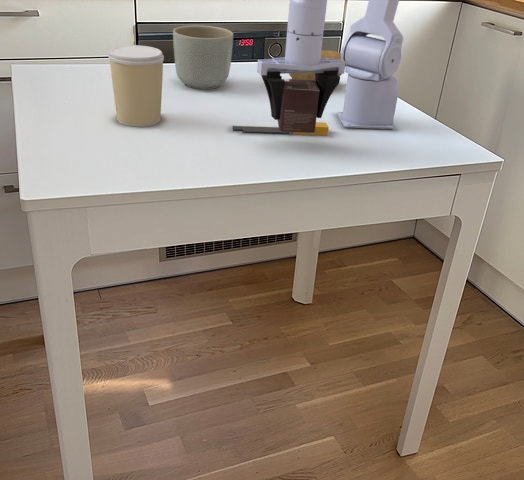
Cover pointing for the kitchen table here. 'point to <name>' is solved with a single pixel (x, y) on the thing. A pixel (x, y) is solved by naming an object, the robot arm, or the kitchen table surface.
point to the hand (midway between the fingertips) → (296, 117)
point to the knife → (319, 130)
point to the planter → (202, 55)
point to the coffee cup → (137, 84)
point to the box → (299, 106)
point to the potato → (312, 75)
